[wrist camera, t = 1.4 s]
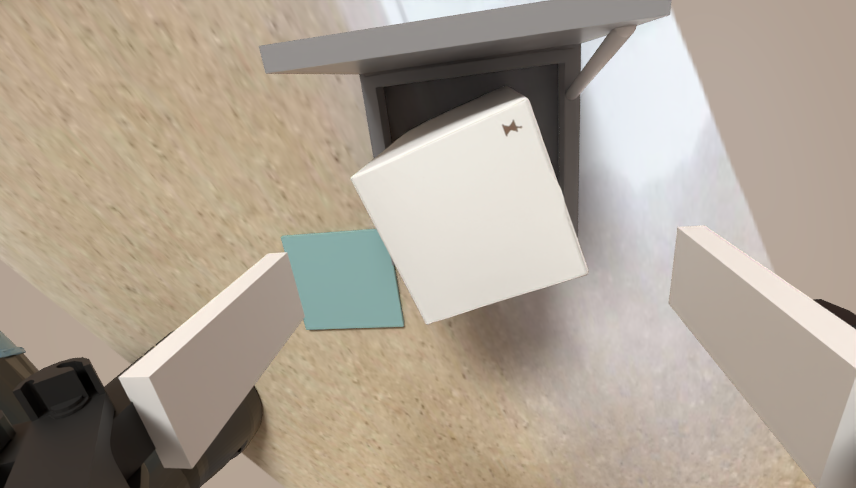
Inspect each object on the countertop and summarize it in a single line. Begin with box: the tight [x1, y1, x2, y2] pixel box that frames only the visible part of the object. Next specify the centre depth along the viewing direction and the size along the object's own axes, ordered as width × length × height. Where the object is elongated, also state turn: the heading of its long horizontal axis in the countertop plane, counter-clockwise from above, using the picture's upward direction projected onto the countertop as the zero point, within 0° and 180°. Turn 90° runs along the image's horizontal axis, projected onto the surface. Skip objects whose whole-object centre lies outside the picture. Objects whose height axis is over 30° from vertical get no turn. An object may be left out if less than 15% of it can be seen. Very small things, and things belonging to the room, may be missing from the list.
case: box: [259, 0, 671, 265], centre depth 25 cm, size 15×16×16 cm
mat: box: [281, 229, 404, 330], centre depth 38 cm, size 10×10×1 cm
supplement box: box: [350, 85, 588, 325], centre depth 26 cm, size 9×9×15 cm
